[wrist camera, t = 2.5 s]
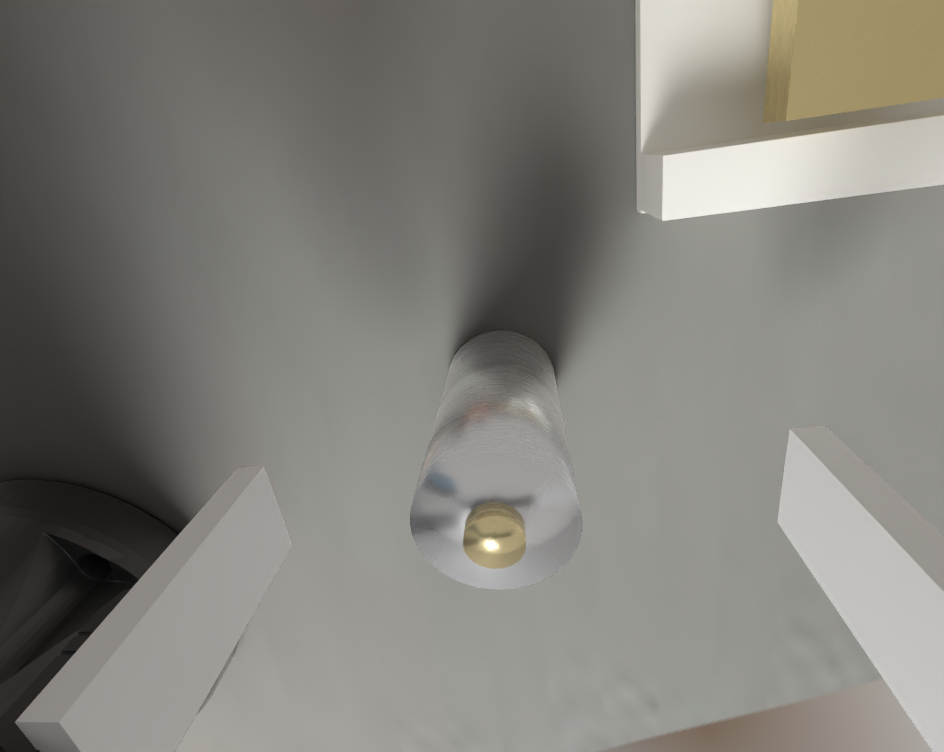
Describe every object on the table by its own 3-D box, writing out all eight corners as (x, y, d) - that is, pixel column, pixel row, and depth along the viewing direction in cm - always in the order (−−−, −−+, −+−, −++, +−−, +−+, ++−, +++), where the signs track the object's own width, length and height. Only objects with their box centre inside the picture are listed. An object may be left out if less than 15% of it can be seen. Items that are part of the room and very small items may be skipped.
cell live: (456, 430, 20) (422, 613, 12) (440, 336, 18) (389, 477, 11) (558, 422, 20) (589, 606, 12) (550, 324, 18) (580, 463, 10)
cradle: (636, 211, 16) (662, 224, 13) (634, -166, 13) (668, -251, 10) (983, 165, 15) (1088, 169, 12) (1092, -266, 11) (1276, -396, 9)
